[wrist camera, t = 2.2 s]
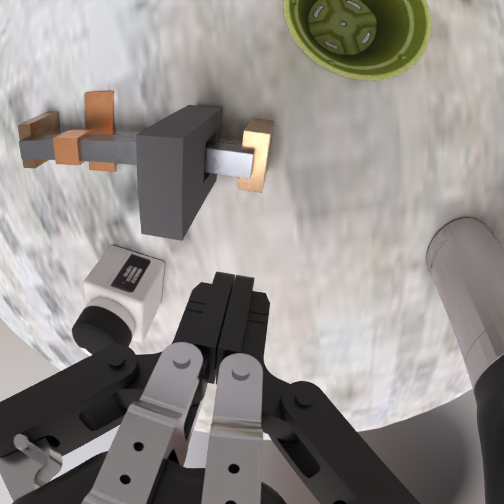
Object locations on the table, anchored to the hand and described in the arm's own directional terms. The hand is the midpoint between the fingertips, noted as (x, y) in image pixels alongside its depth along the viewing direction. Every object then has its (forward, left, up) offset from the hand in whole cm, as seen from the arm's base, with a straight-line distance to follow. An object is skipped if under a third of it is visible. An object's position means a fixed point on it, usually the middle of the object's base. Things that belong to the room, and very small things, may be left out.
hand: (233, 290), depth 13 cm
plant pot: (-4, -13, -20) cm, 24 cm away
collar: (+6, 0, -18) cm, 19 cm away
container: (+15, +19, -20) cm, 31 cm away
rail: (+13, 0, -20) cm, 23 cm away
